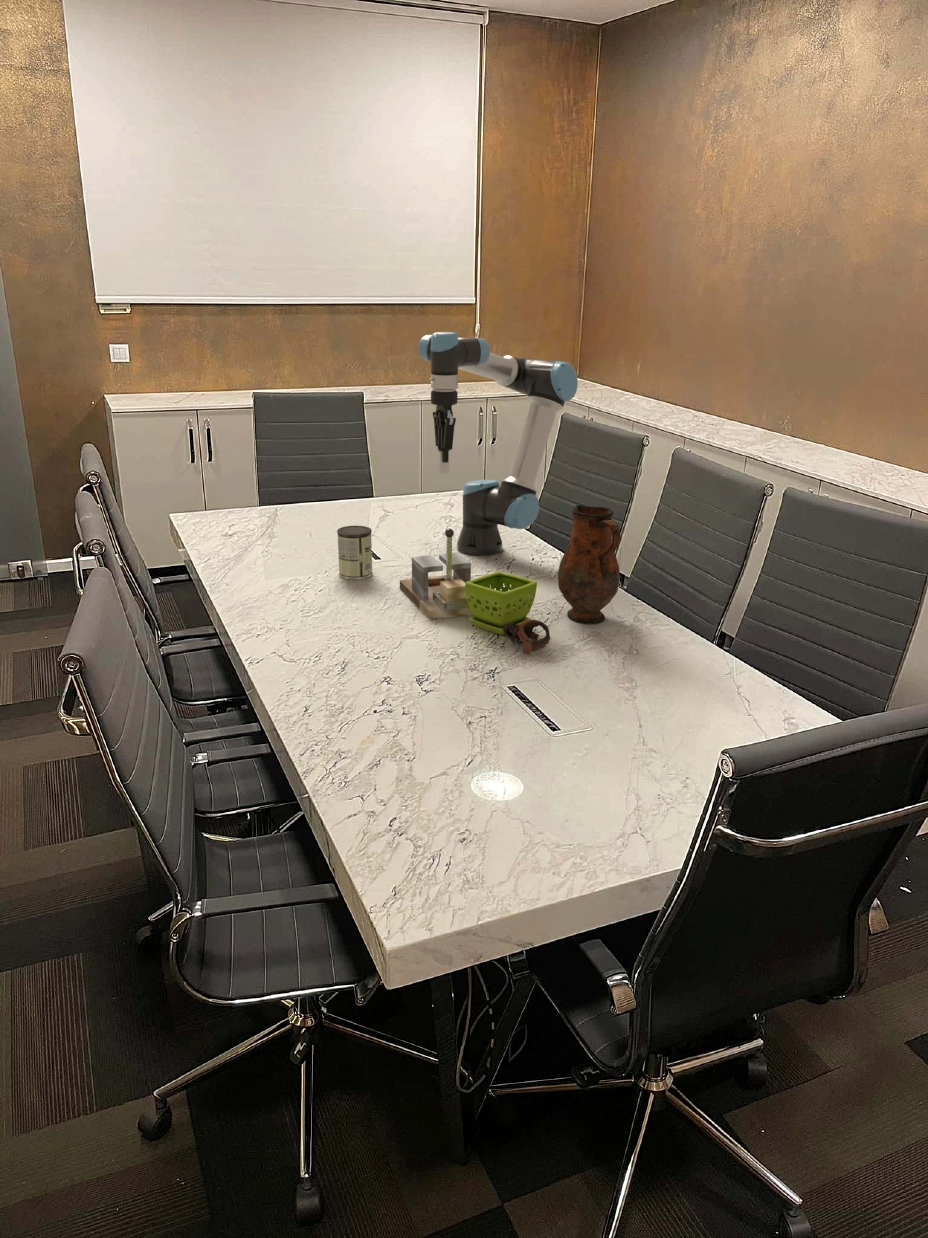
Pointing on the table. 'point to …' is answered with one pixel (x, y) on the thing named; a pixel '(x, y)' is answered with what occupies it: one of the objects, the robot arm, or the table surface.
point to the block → (453, 590)
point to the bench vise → (434, 584)
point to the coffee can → (355, 552)
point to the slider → (436, 595)
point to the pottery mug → (527, 635)
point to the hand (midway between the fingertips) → (443, 472)
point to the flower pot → (499, 600)
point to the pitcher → (590, 564)
